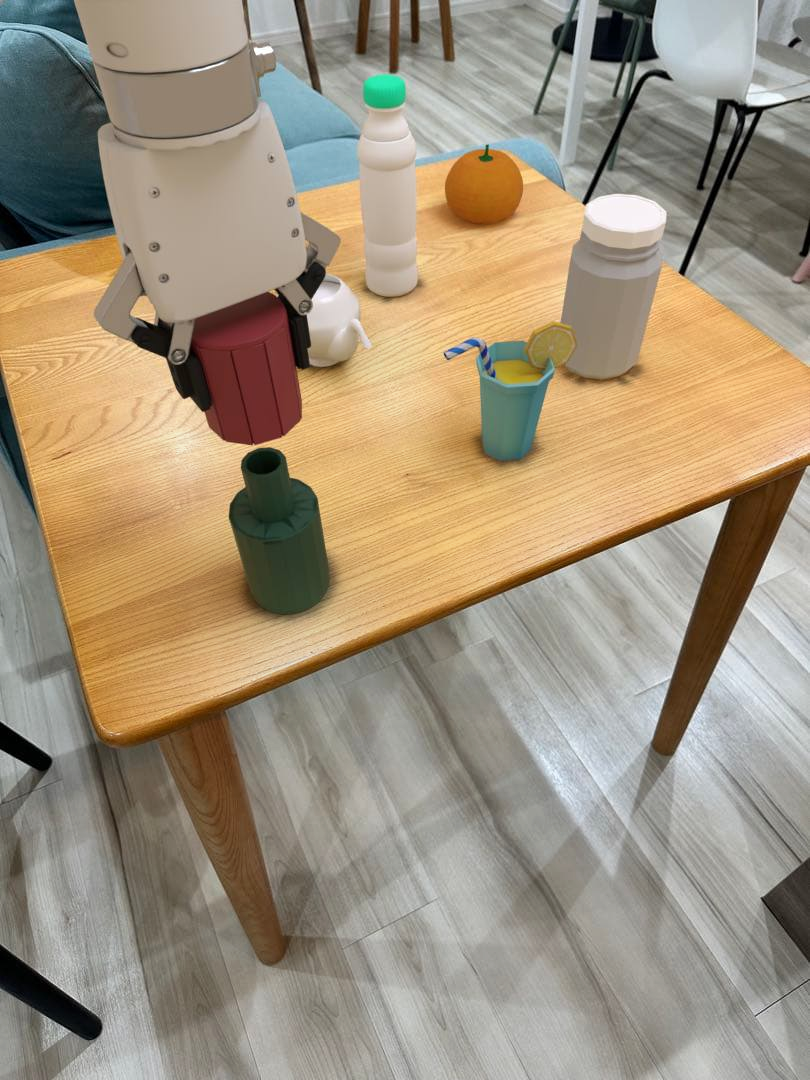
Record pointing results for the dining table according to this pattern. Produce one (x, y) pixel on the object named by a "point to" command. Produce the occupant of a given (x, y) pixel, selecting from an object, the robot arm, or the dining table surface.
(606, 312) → the jar
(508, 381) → the cup
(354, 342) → the teapot
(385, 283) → the water bottle
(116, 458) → the dining table surface
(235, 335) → the grooved red cylinder
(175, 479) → the dining table surface
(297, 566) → the green bottle
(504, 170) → the fruit
